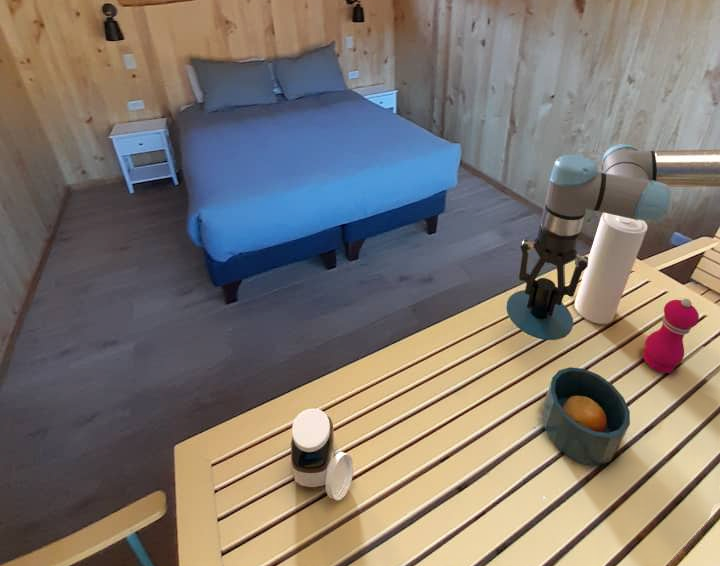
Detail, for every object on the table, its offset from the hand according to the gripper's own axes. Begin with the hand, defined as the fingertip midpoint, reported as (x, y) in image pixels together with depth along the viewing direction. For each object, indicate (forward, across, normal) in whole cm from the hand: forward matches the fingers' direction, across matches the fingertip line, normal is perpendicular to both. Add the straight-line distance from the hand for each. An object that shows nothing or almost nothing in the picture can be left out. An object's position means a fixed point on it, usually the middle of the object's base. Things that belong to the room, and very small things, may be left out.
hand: (540, 307), depth 94 cm
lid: (+2, 0, 0) cm, 2 cm away
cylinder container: (+13, -13, -20) cm, 27 cm away
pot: (+13, -12, +16) cm, 24 cm away
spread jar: (+13, +29, +48) cm, 58 cm away
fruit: (+13, -12, +16) cm, 24 cm away
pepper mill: (+13, -27, -10) cm, 31 cm away
